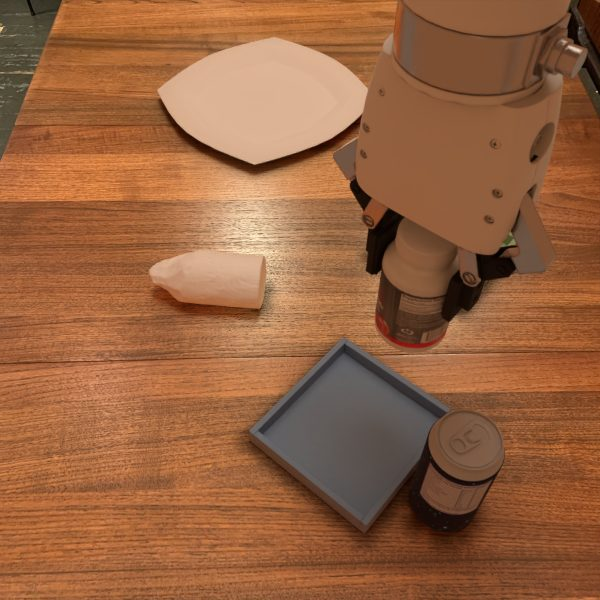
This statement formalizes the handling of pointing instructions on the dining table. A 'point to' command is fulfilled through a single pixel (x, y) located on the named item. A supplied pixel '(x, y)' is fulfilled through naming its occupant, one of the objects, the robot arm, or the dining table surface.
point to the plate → (264, 99)
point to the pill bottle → (414, 288)
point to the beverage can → (456, 469)
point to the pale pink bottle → (213, 278)
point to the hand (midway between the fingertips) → (418, 282)
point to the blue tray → (350, 432)
